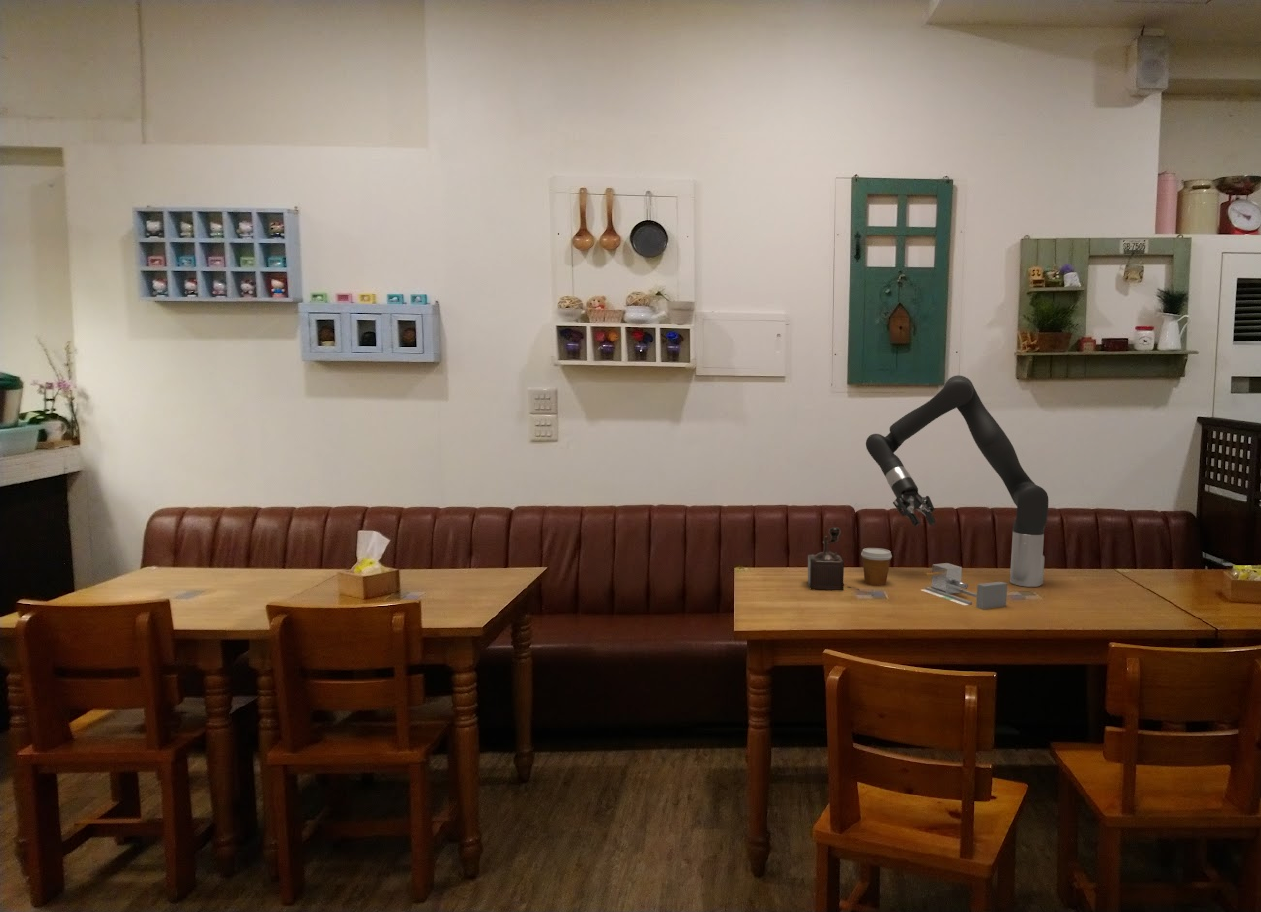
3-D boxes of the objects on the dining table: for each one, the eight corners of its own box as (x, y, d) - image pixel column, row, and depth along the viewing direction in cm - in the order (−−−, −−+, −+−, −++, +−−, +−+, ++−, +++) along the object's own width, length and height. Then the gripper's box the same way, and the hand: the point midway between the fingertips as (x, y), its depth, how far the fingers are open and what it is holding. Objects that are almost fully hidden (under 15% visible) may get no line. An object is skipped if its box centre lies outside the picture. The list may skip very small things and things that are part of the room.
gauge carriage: (946, 587, 253) (947, 562, 252) (973, 596, 243) (974, 570, 242) (918, 591, 249) (919, 565, 248) (945, 600, 238) (946, 574, 238)
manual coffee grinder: (845, 591, 253) (848, 535, 252) (810, 590, 255) (812, 534, 253) (838, 578, 269) (840, 526, 267) (804, 577, 270) (806, 525, 268)
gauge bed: (950, 589, 256) (952, 564, 255) (1012, 610, 234) (1014, 582, 233) (916, 593, 251) (917, 568, 250) (976, 615, 229) (977, 587, 228)
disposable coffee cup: (892, 592, 253) (893, 554, 252) (861, 590, 255) (862, 553, 253) (888, 584, 262) (890, 548, 261) (858, 582, 264) (860, 546, 263)
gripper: (890, 477, 263) (914, 519, 253) (924, 475, 269) (949, 516, 259) (878, 490, 269) (901, 532, 259) (912, 489, 274) (936, 529, 264)
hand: (925, 524), depth 259 cm, fingers open, 5 cm apart
